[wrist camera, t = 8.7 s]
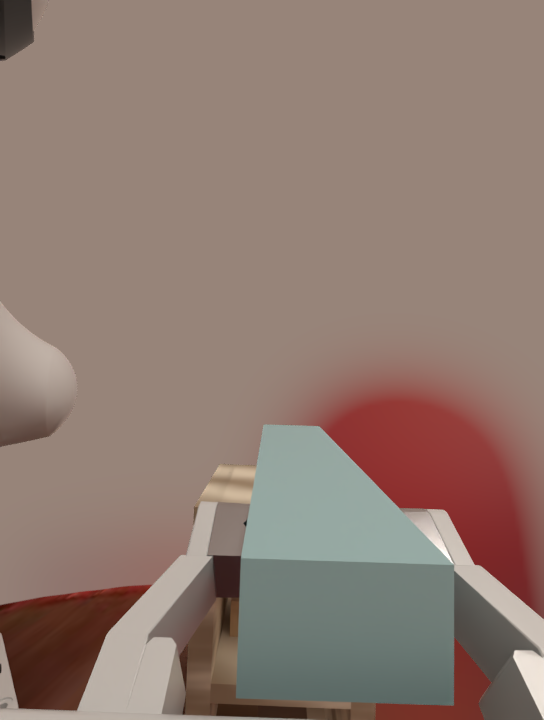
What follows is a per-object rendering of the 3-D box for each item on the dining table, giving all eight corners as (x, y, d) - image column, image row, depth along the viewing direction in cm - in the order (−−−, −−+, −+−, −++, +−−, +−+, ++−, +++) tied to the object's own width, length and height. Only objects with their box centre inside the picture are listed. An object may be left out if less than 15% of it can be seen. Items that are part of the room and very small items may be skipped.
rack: (209, 707, 36) (219, 464, 37) (339, 712, 36) (345, 468, 37) (178, 871, 24) (194, 506, 25) (371, 880, 24) (379, 514, 25)
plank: (262, 459, 24) (263, 424, 24) (318, 461, 24) (319, 426, 24) (236, 698, 6) (241, 558, 6) (453, 705, 6) (454, 565, 6)
